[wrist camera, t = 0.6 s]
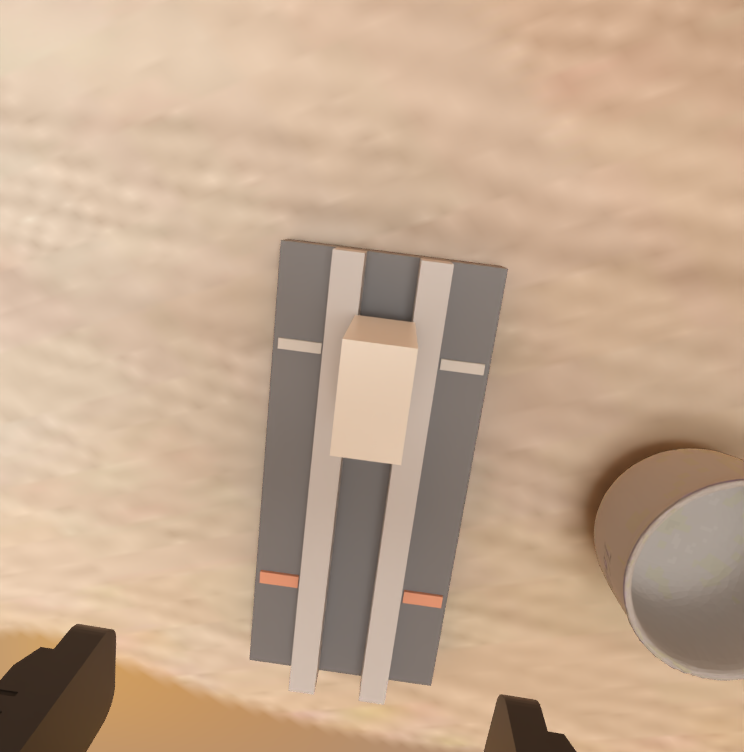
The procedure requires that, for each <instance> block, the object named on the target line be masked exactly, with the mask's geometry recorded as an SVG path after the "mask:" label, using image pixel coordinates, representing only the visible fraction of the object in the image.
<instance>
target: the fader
mask: <svg viewBox="0 0 744 752" xmlns="http://www.w3.org/2000/svg"><path fill="white" fill-rule="evenodd" d="M417 354H418V343H417V334H416V325H415V322H407V321H400V320H392V319H384V318H376V317H369V316H361V315H355V316H354V318H353V320H352V322H351V324H350V325H349V327H348V329H347V331H346V333H345V335H344V337H343V339H342V347H341V356H340V365H339V374H338V384H337V393H336V402H335V411H334V420H333V429H332V439H331V448H330V456H336V457H343V458H351V459H358V460H366V461H373V462H380V463H388V464H395V465H401V462H402V455H403V449H404V442H405V435H406V428H407V421H408V415H409V408H410V401H411V394H412V388H413V381H414V374H415V367H416V360H417Z"/></svg>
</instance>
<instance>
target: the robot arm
mask: <svg viewBox="0 0 744 752" xmlns="http://www.w3.org/2000/svg"><path fill="white" fill-rule="evenodd" d="M115 659H116V633H115V631H114V630H112V629H106V628H100V627H94V626H88V625H82V624H76V625H74V626H73V627H72V628H71V629H70V630H69V631H68V633H67V634H66V635H65V636H64V637H63V639H62V640H61V641H60V642H59V644H58V645H57V646H56V647H55V648H54V649H50V648H43V647H40V648H39V649H38V650H36V651H34V652H33V653H32V654H30V655H28V656H27V657H25V658H24V659H22V660H21V661H19V662H18V663H16V664H15V665H13V666H12V667H11V669H10V670H9V671H8V672H7V673H6V674H5V675H4V676H3V678H2V679H1V680H0V752H86V751H87V749H88V748H89V746H90V744H91V743H92V741H93V739H94V738H95V736H96V734H97V733H98V731H99V729H100V728H101V726H102V724H103V723H104V721H105V719H106V717H107V714H108V712H109V709H110V707H111V703H112V699H113V696H114V690H115ZM484 752H576V751H575V749H574V748H573V746H572V745H571V744H570V742H569V741H568V739H567V738H566V737H565V735H564V734H559V733H553V732H548V731H547V727H546V724H545V720H544V717H543V713H542V710H541V707H540V704H539V702H538V701H537V700H533V699H527V698H521V697H515V696H508V695H502V694H501V695H499V697H498V699H497V702H496V706H495V710H494V714H493V718H492V722H491V726H490V729H489V733H488V737H487V741H486V745H485V749H484Z"/></svg>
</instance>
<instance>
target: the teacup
mask: <svg viewBox="0 0 744 752" xmlns="http://www.w3.org/2000/svg"><path fill="white" fill-rule="evenodd" d="M594 544H595V550H596V555H597V559H598V562H599V565H600V567H601V570H602V572H603V574H604V576H605V578H606V580H607V582H608V584H609V586H610V588H611V590H612V591H613V593H614V595H615V597H616V598H617V600H618V602H619V603H620V605H621V607H622V608H623V610H624V611H625V613H626V614H627V617H628V620H629V622H630V625H631V627H632V628H633V630H634V632H635V633H636V635H637V636H638V638H639V640H640V641H641V642H642V643H643V644H644V645H645V647H646V648H647V649H648V650H649V651H650V652H651V653H652V654H653V655H654V656H655V657H657V658H659V659H660V660H661V661H663V662H664V663H666V664H667V665H669V666H670V667H672V668H673V669H678V670H679V671H681V672H683V673H688V674H691V675H694V676H698V677H701V678H707V679H713V680H738V679H744V461H743V460H741V459H738V458H736V457H733V456H731V455H727V454H724V453H721V452H717V451H713V450H706V449H694V448H687V449H676V450H670V451H665V452H661V453H658V454H655V455H652V456H650V457H647V458H645V459H643V460H641V461H640V462H638V463H636V464H634V465H633V466H631V467H630V468H629V469H627V470H626V471H625V472H624V473H623V474H621V475H620V476H619V477H618V478H617V479H616V480H615V481H614V483H613V484H612V485H611V487H610V488H609V489H608V491H607V492H606V494H605V495H604V497H603V499H602V501H601V504H600V506H599V509H598V511H597V515H596V519H595V525H594Z"/></svg>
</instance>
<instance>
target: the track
mask: <svg viewBox="0 0 744 752" xmlns="http://www.w3.org/2000/svg"><path fill="white" fill-rule="evenodd" d="M507 271H508V269H507V268H504V267H502V266H496V265H488V264H480V263H472V262H464V261H456V260H449V259H441V258H433V257H425V256H417V255H409V254H401V253H394V252H386V251H378V250H370V249H362V248H354V247H346V246H338V245H331V244H323V243H315V242H307V241H299V240H291V239H286V240H281V247H280V260H279V273H278V287H277V300H276V313H275V327H274V340H273V353H272V367H271V380H270V394H269V407H268V420H267V434H266V447H265V460H264V474H263V487H262V500H261V514H260V527H259V540H258V554H257V567H256V580H255V594H254V607H253V620H252V634H251V647H250V660H255V661H262V662H269V663H276V664H283V665H290V666H291V672H290V682H289V691H293V692H300V693H307V694H314V692H315V687H316V682H317V677H318V671H319V670H325V671H331V672H338V673H345V674H352V675H359V676H361V682H360V693H359V701H362V702H369V703H376V704H383V705H384V704H385V697H386V691H387V685H388V680H394V681H401V682H408V683H415V684H422V685H429V686H431V683H432V677H433V672H434V667H435V661H436V656H437V650H438V645H439V639H440V634H441V629H442V623H443V618H444V612H445V607H446V602H447V596H448V591H449V585H450V580H451V574H452V569H453V564H454V558H455V553H456V547H457V542H458V537H459V531H460V526H461V520H462V515H463V509H464V504H465V499H466V493H467V488H468V482H469V477H470V472H471V466H472V461H473V455H474V450H475V444H476V439H477V434H478V428H479V423H480V417H481V412H482V407H483V401H484V396H485V390H486V385H487V379H488V374H489V369H490V363H491V358H492V352H493V347H494V342H495V336H496V331H497V325H498V320H499V314H500V309H501V304H502V298H503V293H504V287H505V282H506V276H507ZM355 315H361V316H369V317H376V318H384V319H392V320H400V321H407V322H415V325H416V334H417V343H418V354H417V360H416V367H415V374H414V381H413V388H412V394H411V401H410V408H409V415H408V421H407V428H406V435H405V442H404V449H403V455H402V462H401V465H395V464H388V463H380V462H373V461H366V460H358V459H351V458H343V457H336V456H330V448H331V439H332V429H333V420H334V411H335V402H336V393H337V384H338V374H339V365H340V356H341V347H342V339H343V337H344V335H345V333H346V331H347V329H348V327H349V325H350V324H351V322H352V320H353V318H354V316H355Z"/></svg>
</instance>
